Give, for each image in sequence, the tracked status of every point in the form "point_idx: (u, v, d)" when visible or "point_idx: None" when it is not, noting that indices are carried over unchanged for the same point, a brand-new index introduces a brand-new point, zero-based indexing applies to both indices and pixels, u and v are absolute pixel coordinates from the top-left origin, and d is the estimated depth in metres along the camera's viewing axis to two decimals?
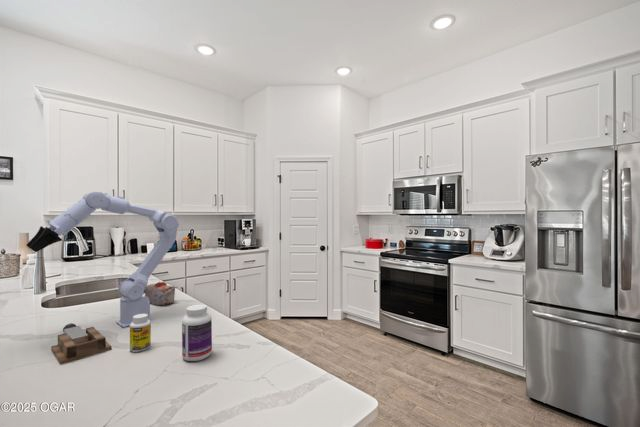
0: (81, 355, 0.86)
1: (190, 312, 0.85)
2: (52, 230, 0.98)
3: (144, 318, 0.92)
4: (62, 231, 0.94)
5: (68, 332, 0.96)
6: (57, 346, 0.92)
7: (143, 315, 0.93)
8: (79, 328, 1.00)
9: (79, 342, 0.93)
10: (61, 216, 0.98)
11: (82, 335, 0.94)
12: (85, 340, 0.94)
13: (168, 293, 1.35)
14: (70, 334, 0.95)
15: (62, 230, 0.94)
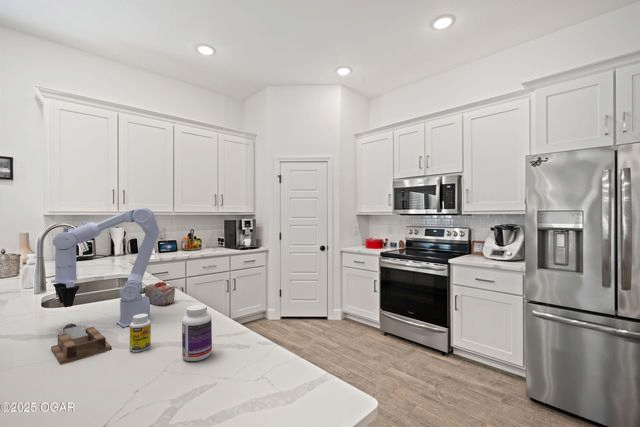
0: (81, 355, 0.86)
1: (190, 312, 0.85)
2: None
3: (144, 318, 0.92)
4: (72, 283, 1.02)
5: (68, 332, 0.96)
6: (57, 346, 0.92)
7: (143, 315, 0.93)
8: (79, 328, 1.00)
9: (79, 342, 0.93)
10: (58, 271, 1.03)
11: (82, 335, 0.94)
12: (85, 340, 0.94)
13: (168, 293, 1.35)
14: (70, 334, 0.95)
15: (71, 282, 1.02)
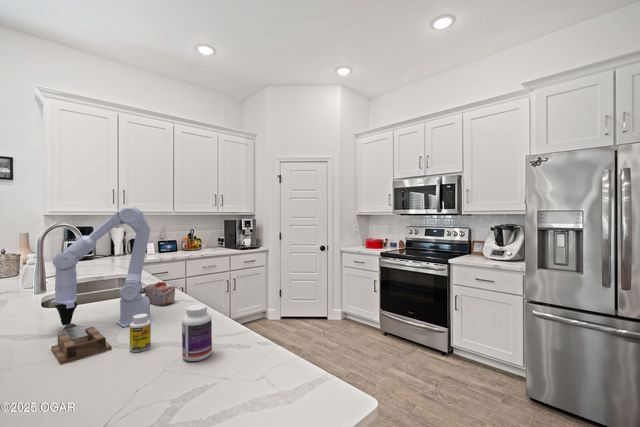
0: (81, 355, 0.86)
1: (190, 312, 0.85)
2: None
3: (144, 318, 0.92)
4: (72, 303, 1.02)
5: (68, 332, 0.96)
6: (57, 346, 0.92)
7: (143, 315, 0.93)
8: (79, 328, 1.00)
9: (79, 342, 0.93)
10: (58, 292, 1.03)
11: (82, 335, 0.94)
12: (85, 340, 0.94)
13: (168, 293, 1.35)
14: (70, 334, 0.95)
15: (71, 303, 1.02)
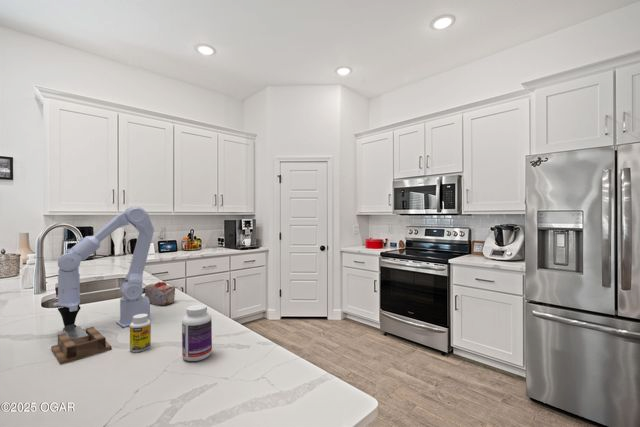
0: (81, 355, 0.86)
1: (190, 312, 0.85)
2: None
3: (144, 318, 0.92)
4: (75, 306, 0.99)
5: (68, 332, 0.96)
6: (57, 346, 0.92)
7: (143, 315, 0.93)
8: (79, 328, 1.00)
9: (79, 342, 0.92)
10: (61, 294, 1.00)
11: (82, 335, 0.94)
12: (85, 340, 0.94)
13: (168, 293, 1.35)
14: (70, 334, 0.95)
15: (74, 306, 0.99)
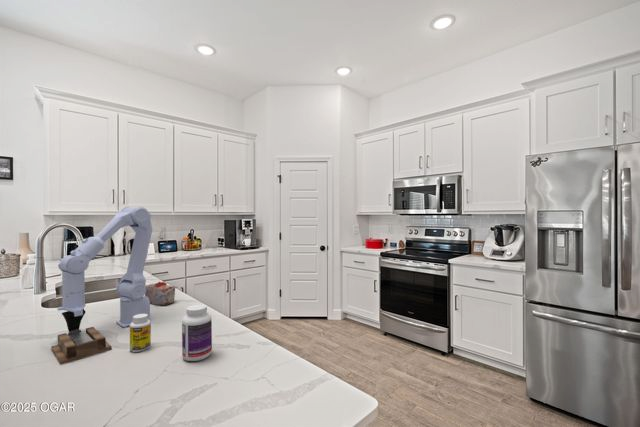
0: (81, 355, 0.86)
1: (190, 312, 0.85)
2: None
3: (144, 318, 0.92)
4: (80, 311, 0.94)
5: (73, 338, 0.92)
6: (57, 346, 0.92)
7: (143, 315, 0.93)
8: (84, 334, 0.95)
9: None
10: (65, 298, 0.96)
11: (88, 341, 0.90)
12: None
13: (168, 293, 1.35)
14: (75, 340, 0.90)
15: (80, 310, 0.94)
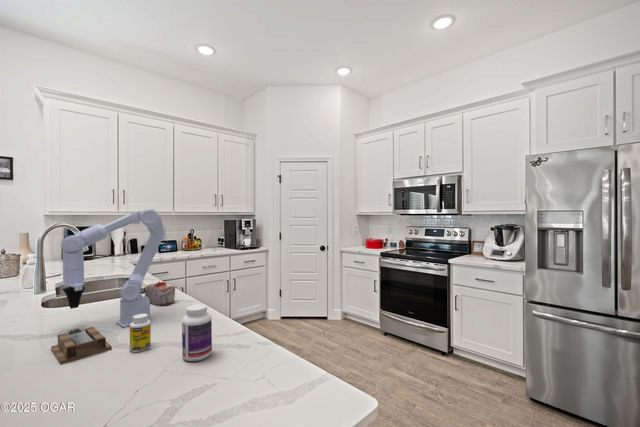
0: (81, 355, 0.86)
1: (190, 312, 0.85)
2: None
3: (144, 318, 0.92)
4: (80, 286, 1.02)
5: (73, 338, 0.92)
6: (57, 346, 0.92)
7: (143, 315, 0.93)
8: (84, 334, 0.95)
9: None
10: (66, 275, 1.03)
11: (87, 341, 0.90)
12: None
13: (168, 293, 1.35)
14: (75, 340, 0.90)
15: (79, 285, 1.01)
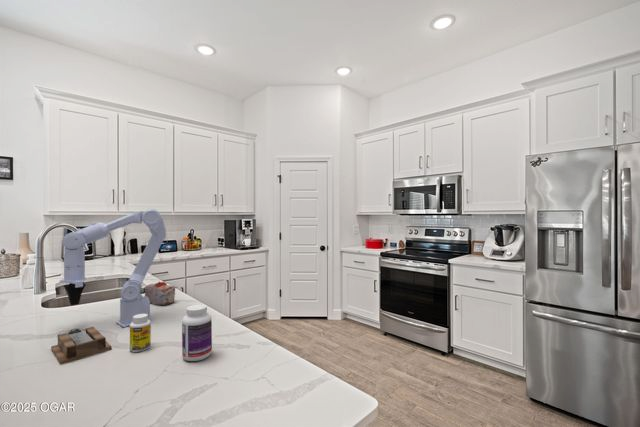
0: (81, 355, 0.86)
1: (190, 312, 0.85)
2: None
3: (144, 318, 0.92)
4: (81, 283, 1.02)
5: (73, 338, 0.92)
6: (57, 346, 0.92)
7: (143, 315, 0.93)
8: (84, 334, 0.95)
9: None
10: (66, 271, 1.04)
11: (87, 341, 0.90)
12: None
13: (168, 293, 1.36)
14: (75, 340, 0.90)
15: (80, 282, 1.02)
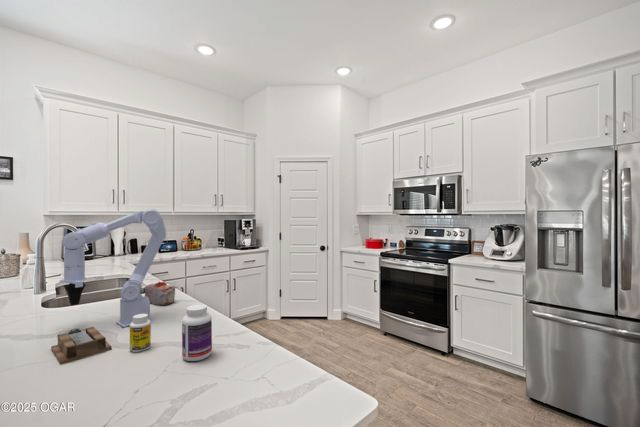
0: (81, 355, 0.86)
1: (190, 312, 0.85)
2: None
3: (144, 318, 0.92)
4: (81, 283, 1.02)
5: (73, 338, 0.92)
6: (57, 346, 0.92)
7: (143, 315, 0.93)
8: (84, 334, 0.95)
9: None
10: (66, 271, 1.04)
11: (87, 341, 0.90)
12: None
13: (168, 293, 1.36)
14: (75, 340, 0.90)
15: (80, 282, 1.02)
